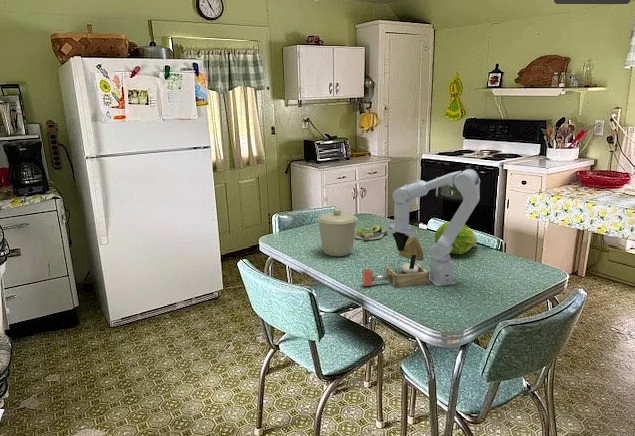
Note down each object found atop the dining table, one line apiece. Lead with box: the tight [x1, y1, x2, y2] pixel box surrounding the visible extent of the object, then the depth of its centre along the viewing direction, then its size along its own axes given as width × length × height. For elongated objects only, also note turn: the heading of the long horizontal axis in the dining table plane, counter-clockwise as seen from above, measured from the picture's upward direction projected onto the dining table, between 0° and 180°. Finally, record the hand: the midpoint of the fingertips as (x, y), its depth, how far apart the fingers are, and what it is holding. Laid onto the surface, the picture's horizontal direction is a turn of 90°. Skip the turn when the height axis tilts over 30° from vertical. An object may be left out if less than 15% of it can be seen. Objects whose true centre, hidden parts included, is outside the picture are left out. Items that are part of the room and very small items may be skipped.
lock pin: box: [361, 268, 392, 287], centre depth 173 cm, size 3×11×5 cm, turn 102°
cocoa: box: [401, 255, 419, 274], centre depth 177 cm, size 10×6×12 cm, turn 158°
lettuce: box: [434, 221, 478, 255], centre depth 206 cm, size 15×25×16 cm
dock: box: [385, 263, 430, 288], centre depth 177 cm, size 10×13×4 cm
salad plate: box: [354, 224, 389, 241], centre depth 233 cm, size 19×18×5 cm
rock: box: [398, 236, 424, 261], centre depth 201 cm, size 11×9×10 cm
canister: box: [316, 208, 358, 257], centre depth 207 cm, size 18×18×21 cm
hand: (400, 250), depth 183 cm, fingers closed
